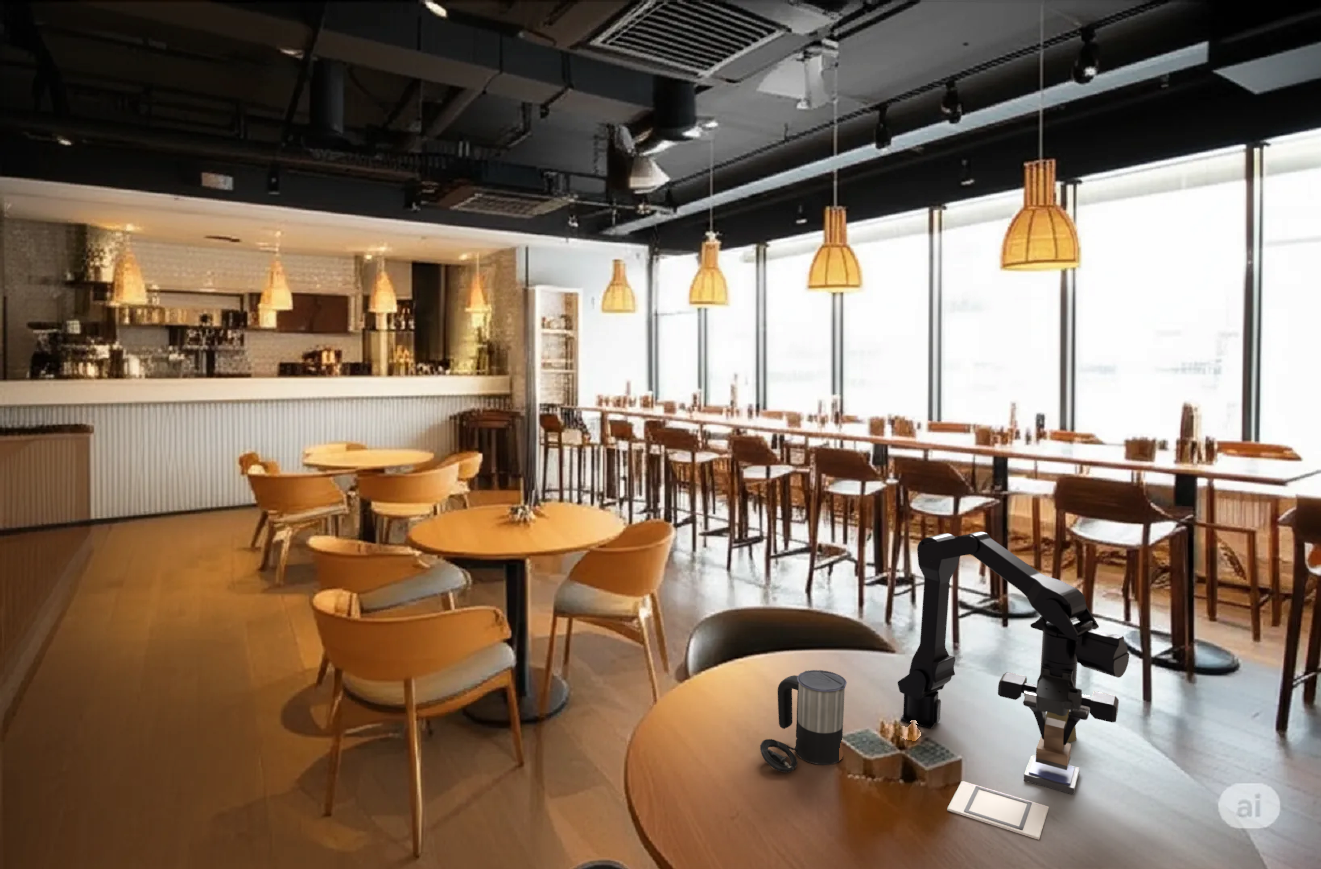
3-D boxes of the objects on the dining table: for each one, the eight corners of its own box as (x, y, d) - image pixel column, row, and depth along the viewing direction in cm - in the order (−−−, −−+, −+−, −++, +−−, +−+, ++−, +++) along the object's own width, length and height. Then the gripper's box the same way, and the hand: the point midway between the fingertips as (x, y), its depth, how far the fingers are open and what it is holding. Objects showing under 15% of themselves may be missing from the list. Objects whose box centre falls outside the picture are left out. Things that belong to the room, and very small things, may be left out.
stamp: (1035, 761, 139) (1037, 724, 138) (1040, 749, 143) (1042, 713, 143) (1066, 770, 136) (1069, 732, 136) (1070, 757, 141) (1072, 720, 140)
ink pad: (1023, 780, 139) (1024, 772, 139) (1031, 760, 146) (1031, 753, 146) (1073, 794, 135) (1074, 786, 135) (1079, 773, 142) (1079, 766, 141)
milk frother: (849, 747, 151) (851, 674, 149) (830, 788, 137) (832, 708, 135) (778, 732, 157) (779, 661, 155) (753, 770, 143) (754, 693, 141)
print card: (947, 810, 130) (947, 807, 130) (961, 782, 139) (961, 779, 139) (1039, 839, 123) (1039, 836, 123) (1048, 808, 131) (1048, 805, 131)
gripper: (993, 661, 136) (989, 745, 138) (1116, 687, 126) (1110, 777, 128) (1006, 641, 146) (1001, 720, 147) (1121, 663, 135) (1115, 748, 137)
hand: (1054, 741), depth 140 cm, fingers closed on stamp, 3 cm apart
